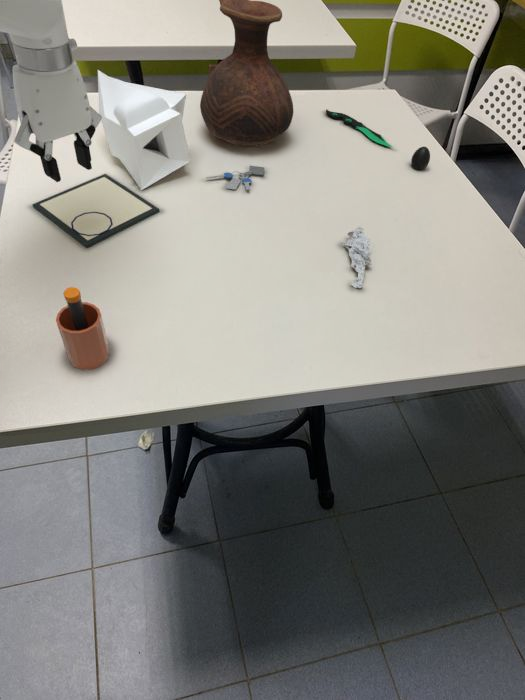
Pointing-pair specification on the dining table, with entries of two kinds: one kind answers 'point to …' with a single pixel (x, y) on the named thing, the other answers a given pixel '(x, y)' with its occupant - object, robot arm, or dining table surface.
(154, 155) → the folded paper
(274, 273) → the dining table surface
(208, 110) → the jug
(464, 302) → the dining table surface
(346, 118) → the knife
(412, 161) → the egg
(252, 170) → the key chain
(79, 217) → the drawing mat
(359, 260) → the paper
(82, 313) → the marker
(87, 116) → the robot arm
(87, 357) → the pen cup
